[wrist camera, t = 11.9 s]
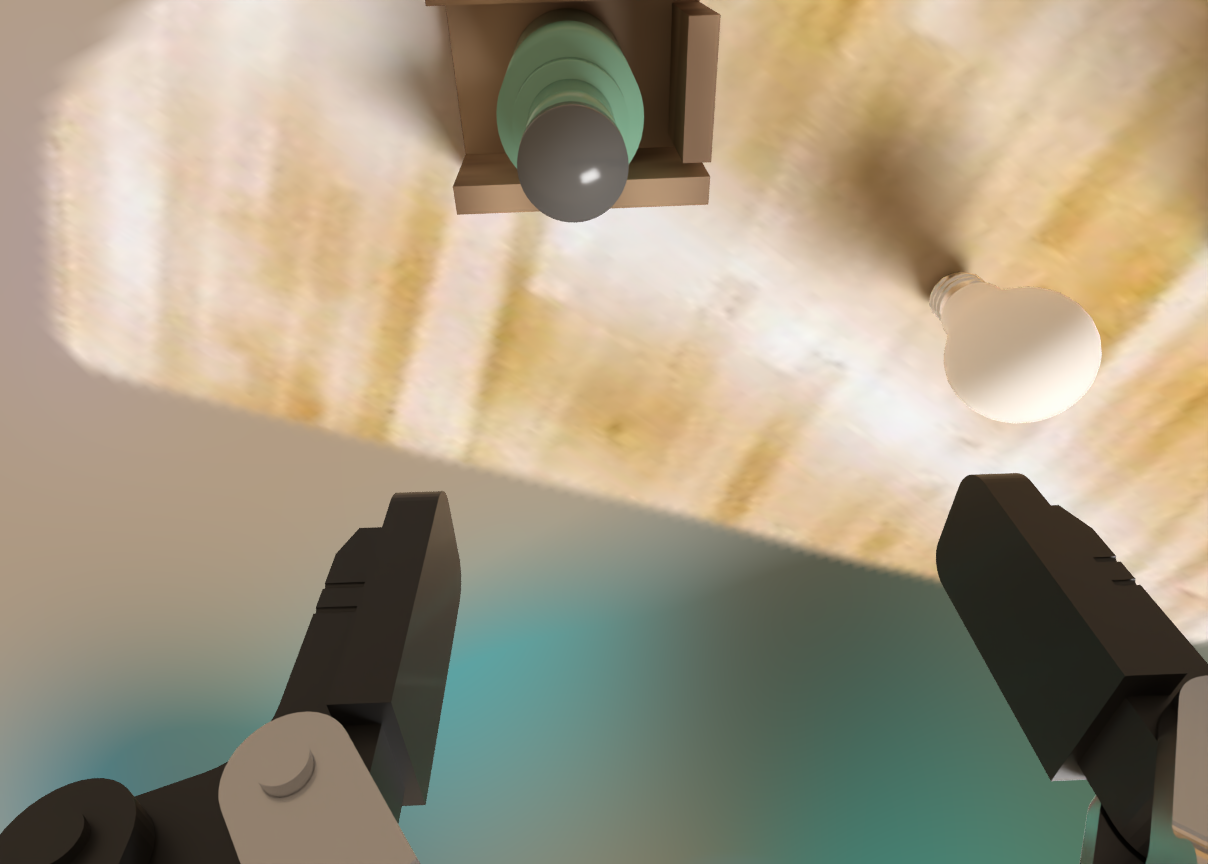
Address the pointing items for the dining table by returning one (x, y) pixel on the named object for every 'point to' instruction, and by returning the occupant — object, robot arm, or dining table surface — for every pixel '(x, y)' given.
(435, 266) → the dining table surface
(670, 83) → the brown open-sided frame
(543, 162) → the bottle
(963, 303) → the light bulb
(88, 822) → the robot arm
